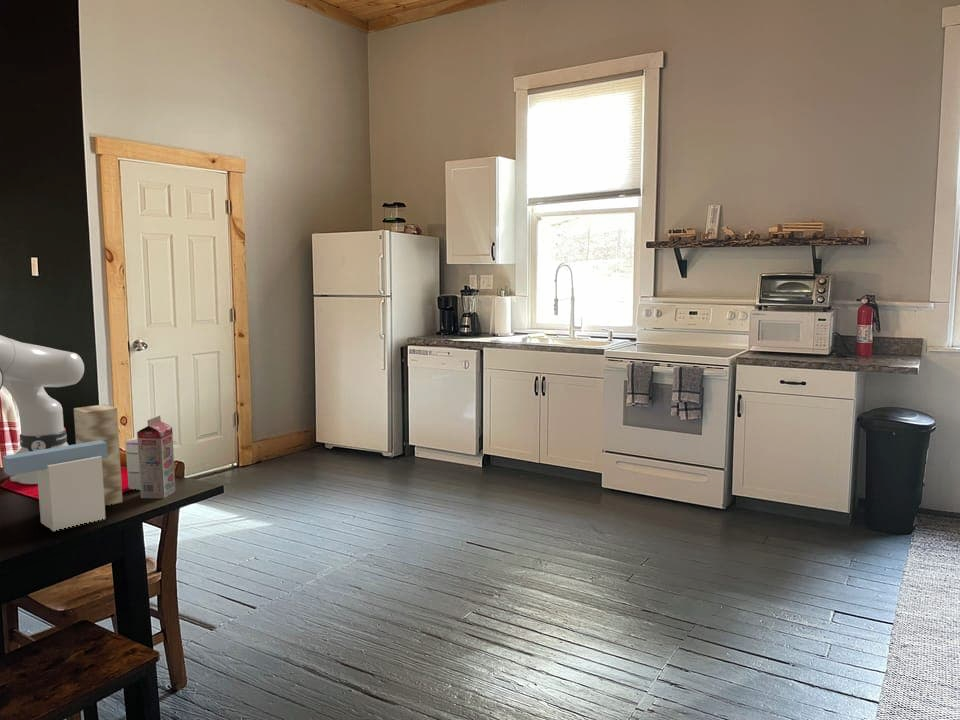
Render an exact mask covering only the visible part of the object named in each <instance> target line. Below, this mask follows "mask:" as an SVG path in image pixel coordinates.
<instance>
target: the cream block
mask: <svg viewBox="0 0 960 720" xmlns="http://www.w3.org/2000/svg"><path fill="white" fill-rule="evenodd" d="M47 468H48V469H44V470H38V471H37V478H38V484H37V489H38V500H39V501H38V503H39V512H40V513H39V514H40V515H39V516H40V517H39V519H40V523H41V524H42V525H44V526H45V527H47V528H48V529H49V528H50V529H49V530H51V532H56V530H57V531H60V530H59V529H62V530H65V529H64V528H66V529H69V528H68V527H70V528H73V527H72V526H74V527H77V526H76V525H78V526H81V525H80V524H83V525H85V524H84V523H87V524H90V523H89V522H91V523H94V521H95V522H99V521H103V520H106V506H105V503H104V487H103V471H102V457H101V456H98V457H92V458H87V459H81V460H75V461H70V462H64V463H59V464H53V465H47ZM102 519H103V520H102ZM98 520H99V521H98Z"/></svg>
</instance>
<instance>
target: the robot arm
mask: <svg viewBox="0 0 960 720" xmlns="http://www.w3.org/2000/svg"><path fill="white" fill-rule="evenodd" d="M84 373H85V364H84V361H83V359H82V358H81V356H80V355H79V354H78V353H76V352H73V351H72V352H71V351H68V350H62V349H56V348H52V347H47V346H42V345H38V344H32V343H27V342H21V341H18V340H16V339H13V338H9V337H6V336H4V335H1V334H0V390H1V389H2V388H3V387H4V389H5V390H7V391H8V393H9V394H10V396H11V397H12V398H13V399H12V400H14V402H15V404H16V407H17V410H18V415H19V424H20V434H19V440H18V441H19V446H20V448H19V449H18V450H17V452H16V453H15V454H19V453H25V452H31V451H37V450H43V449H49V448H55V447H62V446H68V445H69V443H68V442H67V441H68V438H67V436H68V435H67V431H66V430H67V429H66V427H65V426H64V414H63V413H64V412H63V410H64V409H63V407H62V404H61V403H60V402H59V401H58V400H56V399H55V398H52V397H51V396H50V395H48V393H47V391H46V390H45V388H62V387H68V386H72V385H76V384H78V382H80V381H81V379H82V378H83V377H84ZM9 477H10V478H9V480H10V482H16V483H19V484H22V485H23V484H24V485H38V478H37V471H33V472H27V473H22V474H16V475H11V476H9Z"/></svg>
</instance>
